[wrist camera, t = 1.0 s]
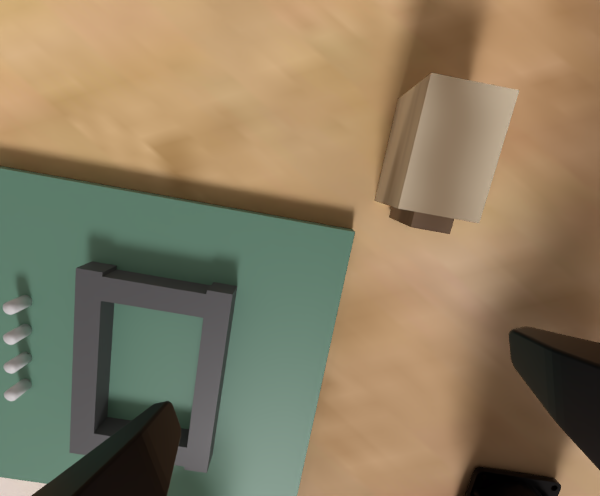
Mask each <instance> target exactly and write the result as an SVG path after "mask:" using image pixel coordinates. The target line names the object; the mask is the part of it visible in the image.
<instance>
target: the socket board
mask: <svg viewBox="0 0 600 496" xmlns="http://www.w3.org/2000/svg"><path fill="white" fill-rule="evenodd" d="M354 234H355V232H354V231H353V230H352V229H347V228H342V227H336V226H331V225H325V224H319V223H314V222H308V221H303V220H297V219H292V218H286V217H281V216H275V215H269V214H264V213H258V212H253V211H247V210H242V209H236V208H231V207H225V206H219V205H214V204H208V203H203V202H197V201H192V200H186V199H180V198H175V197H169V196H164V195H158V194H153V193H147V192H142V191H136V190H130V189H125V188H119V187H114V186H108V185H103V184H97V183H91V182H86V181H80V180H75V179H69V178H64V177H58V176H53V175H47V174H41V173H36V172H30V171H25V170H19V169H14V168H8V167H2V166H0V477H4V478H11V479H18V480H25V481H32V482H39V483H46V484H48V483H49V482H50V481H52V480H53V479H54V478H56V477H57V476H58V475H60V474H61V473H62V472H64V471H65V470H66V469H68V468H69V467H70V466H72V465H73V464H74V463H76V462H77V461H78V460H80V459H81V458H82V457H84V456H85V455H86V454H88V453H89V452H90V451H92V450H93V449H94V448H96V447H97V446H98V445H100V444H101V443H102V442H104V441H105V440H106V439H108V438H109V437H110V436H112V435H113V434H114V433H116V432H117V431H118V430H120V429H121V428H122V427H124V426H125V425H126V424H128V423H129V422H130V421H132V420H133V419H134V418H136V417H137V416H138V415H140V414H141V413H142V412H144V411H145V410H146V409H148V408H149V407H150V406H152V405H153V404H155V403H159V402H164V401H170V402H171V403H172V404H173V407H174V409H175V412H176V415H177V418H178V420H179V423H180V426H181V438H180V442H179V446H178V451H177V455H176V460H175V464H174V468H173V473H172V477H171V482H170V486H169V490H168V494H167V496H297V494H298V489H299V484H300V480H301V475H302V471H303V466H304V462H305V457H306V453H307V448H308V443H309V439H310V434H311V430H312V425H313V421H314V416H315V412H316V407H317V402H318V398H319V393H320V389H321V384H322V380H323V375H324V371H325V366H326V362H327V357H328V352H329V348H330V343H331V339H332V334H333V330H334V325H335V321H336V316H337V311H338V307H339V302H340V298H341V293H342V289H343V284H344V280H345V275H346V271H347V266H348V261H349V257H350V252H351V248H352V243H353V239H354Z"/></svg>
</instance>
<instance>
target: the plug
mask: <svg viewBox="0 0 600 496" xmlns="http://www.w3.org/2000/svg"><path fill="white" fill-rule="evenodd" d="M518 93H519V90H515V89H510V88H505V87H500V86H495V85H490V84H485V83H480V82H476V81H471V80H466V79H461V78H456V77H451V76H446V75H441V74H436V73H430V74H429V75H428V76H426V77H425V78H424V79H423V80H421V81H420V82H419V83H418V84H416V85H415V86H414V87H412V88H411V89H410V90H409V91H407V92H406V93H405V94H404V95H402V96H401V97H400V98H398V101H397V105H396V110H395V114H394V119H393V123H392V127H391V132H390V136H389V140H388V145H387V149H386V154H385V158H384V162H383V167H382V171H381V176H380V180H379V184H378V189H377V193H376V197H375V201H377V202H380V203H383V204H386V205H389V206H392V207H391V211H390V216H389V217H390V218H392V219H394V220H397V221H399V222H401V223H403V224H405V225H408V226H410V227H413V228H419V229H425V230H430V231H436V232H441V233H447V234H450V231H451V228H452V224H453V221H454V219H458V220H464V221H469V222H475V223H479V222H480V219H481V216H482V212H483V209H484V206H485V202H486V199H487V196H488V192H489V189H490V186H491V182H492V179H493V176H494V173H495V169H496V166H497V163H498V159H499V156H500V153H501V149H502V146H503V143H504V139H505V136H506V133H507V129H508V126H509V123H510V119H511V116H512V113H513V109H514V106H515V103H516V100H517V96H518Z"/></svg>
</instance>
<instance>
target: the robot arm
mask: <svg viewBox="0 0 600 496" xmlns="http://www.w3.org/2000/svg"><path fill="white" fill-rule="evenodd" d="M509 344H510V354H511V360H512V363H513V366H514V367H515V369H516V370H517V372H518V373H519V374H520V376H521V377H522V378H523V380H524V381H525V382H526V384H527V385H528V386H529V388H530V389H531V390H532V391H533V393H534V394H535V395H536V397H537V398H538V399H539V401H540V402H541V403H542V405H543V406H544V407H545V409H546V410H547V411H548V413H549V414H550V415H551V416H552V418H553V419H554V420H555V421H556V423H557V424H558V425H559V426H560V427H561V428H562V429H563V431H564V432H565V433H566V434H567V435H568V436H569V437H570V438H571V439H572V440H573V442H574V443H575V444H576V445H577V446H578V447H579V448H580V449H581V450H582V451H583V452H584V454H585V455H586V456H587V457H588V458H589V459H590V460H591V461H592V462H593V463H594V464H595V466H596V467H597V468H598V469H599V470H600V343H597V342H592V341H588V340H584V339H579V338H575V337H571V336H566V335H562V334H558V333H553V332H549V331H545V330H540V329H536V328H532V327H521V328H516V329H512V330H511V331H510V332H509ZM180 438H181V426H180V423H179V420H178V418H177V415H176V412H175V409H174V407H173V404H172V403H171V402H170V401H164V402H159V403H155V404H153V405H152V406H150V407H149V408H148V409H146V410H145V411H144V412H142V413H141V414H140V415H138V416H137V417H136V418H134V419H133V420H132V421H130V422H129V423H128V424H126V425H125V426H124V427H122V428H121V429H120V430H118V431H117V432H116V433H114V434H113V435H112V436H110V437H109V438H108V439H106V440H105V441H104V442H102V443H101V444H100V445H98V446H97V447H96V448H94V449H93V450H92V451H90V452H89V453H88V454H86V455H85V456H84V457H82V458H81V459H80V460H78V461H77V462H76V463H74V464H73V465H72V466H70V467H69V468H68V469H66V470H65V471H64V472H62V473H61V474H60V475H58V476H57V477H56V478H54V479H53V480H52V481H50V482H49V483H48V484H46V485H45V486H44V487H42V488H41V489H40V490H38V491H37V492H36V493H34V494H33V495H32V496H167V494H168V490H169V486H170V482H171V477H172V473H173V468H174V464H175V460H176V455H177V451H178V446H179V442H180ZM560 489H561V485H560V484H559V483H558V482H557V480H556V479H554V478H550V477H544V476H537V475H531V474H524V473H518V472H511V471H505V470H498V469H492V468H485V467H478V468H476V469H475V470H474V472H473V474H472V477H471V480H470V483H469V486H468V489H467V491H466V494H465V496H558V494H559V492H560Z"/></svg>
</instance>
